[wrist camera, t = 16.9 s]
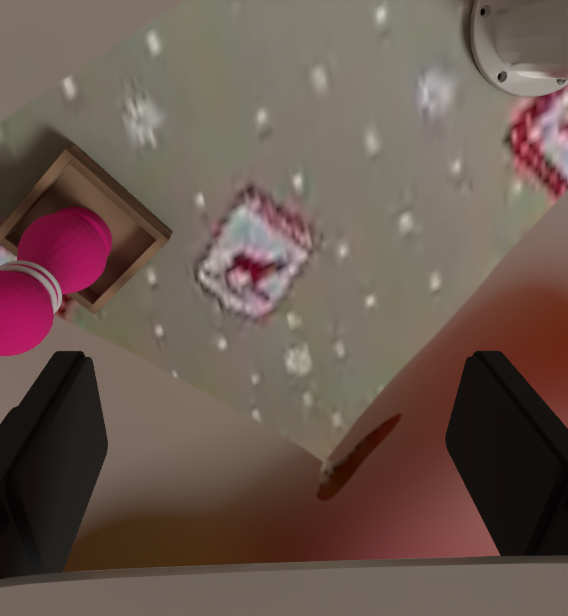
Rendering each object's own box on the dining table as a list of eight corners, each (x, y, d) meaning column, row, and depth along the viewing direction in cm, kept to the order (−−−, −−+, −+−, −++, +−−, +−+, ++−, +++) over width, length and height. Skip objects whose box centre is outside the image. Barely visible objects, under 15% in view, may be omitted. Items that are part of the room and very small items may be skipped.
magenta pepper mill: (26, 220, 45) (-121, 323, 27) (88, 188, 44) (-22, 273, 26) (72, 281, 48) (-32, 408, 30) (132, 252, 47) (60, 366, 29)
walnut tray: (75, 144, 42) (65, 149, 40) (172, 231, 47) (168, 240, 44) (4, 228, 46) (-9, 237, 43) (101, 302, 50) (94, 314, 48)
